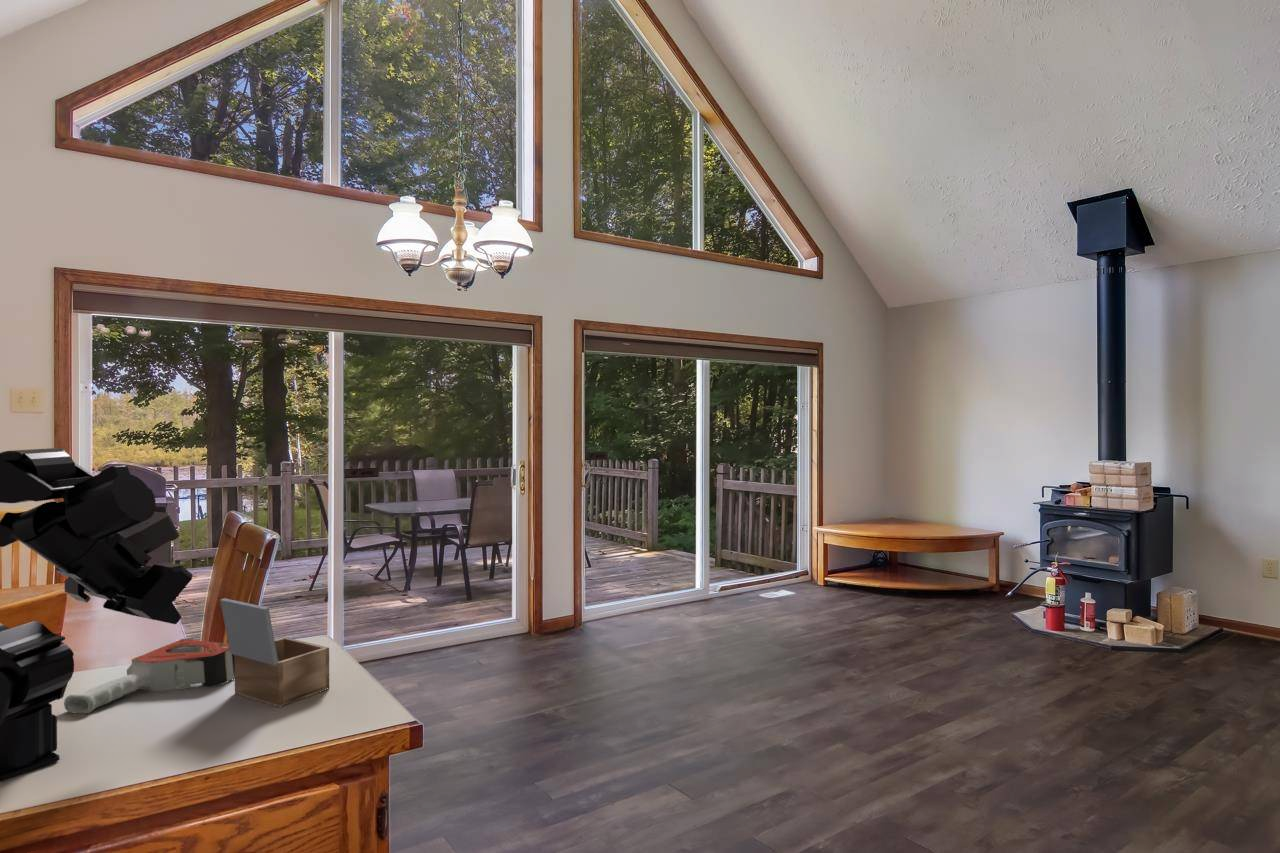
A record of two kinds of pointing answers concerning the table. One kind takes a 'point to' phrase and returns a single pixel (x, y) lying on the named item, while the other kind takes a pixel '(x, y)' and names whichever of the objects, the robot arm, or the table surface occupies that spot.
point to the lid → (249, 631)
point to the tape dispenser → (163, 673)
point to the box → (284, 673)
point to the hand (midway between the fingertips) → (177, 620)
